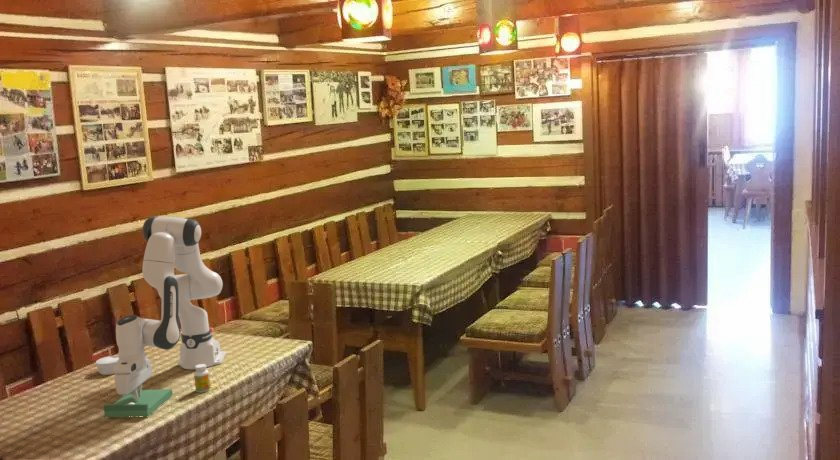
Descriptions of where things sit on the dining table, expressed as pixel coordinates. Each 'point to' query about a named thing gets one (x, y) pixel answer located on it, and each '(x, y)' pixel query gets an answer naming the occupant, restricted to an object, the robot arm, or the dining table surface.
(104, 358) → the ramekin
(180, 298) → the robot arm
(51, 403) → the dining table surface
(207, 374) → the supplement bottle
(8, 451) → the dining table surface
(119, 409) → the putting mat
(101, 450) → the dining table surface
